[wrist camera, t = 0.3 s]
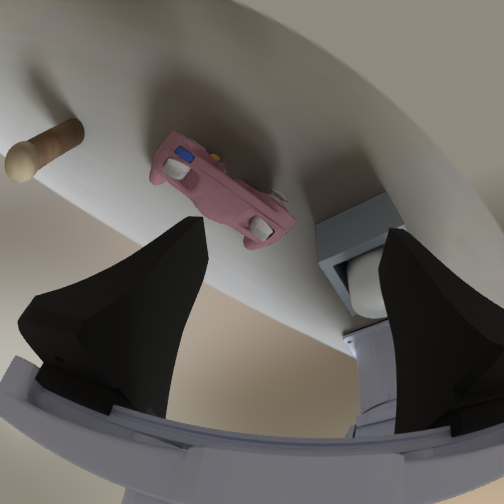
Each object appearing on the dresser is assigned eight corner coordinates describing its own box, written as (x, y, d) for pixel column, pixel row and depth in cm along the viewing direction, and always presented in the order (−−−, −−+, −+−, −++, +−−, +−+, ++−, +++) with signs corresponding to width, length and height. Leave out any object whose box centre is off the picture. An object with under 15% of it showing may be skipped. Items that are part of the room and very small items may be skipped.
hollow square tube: (408, 249, 22) (424, 287, 18) (345, 277, 24) (351, 316, 21) (385, 191, 19) (404, 224, 16) (314, 225, 22) (317, 262, 18)
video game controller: (286, 202, 23) (318, 217, 16) (251, 249, 23) (270, 281, 17) (182, 128, 20) (171, 109, 13) (147, 177, 20) (121, 181, 14)
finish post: (91, 133, 19) (26, 172, 13) (75, 154, 20) (14, 196, 14) (73, 109, 18) (4, 142, 12) (57, 131, 19) (-6, 168, 13)
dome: (404, 270, 19) (418, 310, 16) (357, 289, 21) (364, 331, 18) (389, 229, 18) (405, 269, 14) (336, 253, 19) (342, 295, 16)
